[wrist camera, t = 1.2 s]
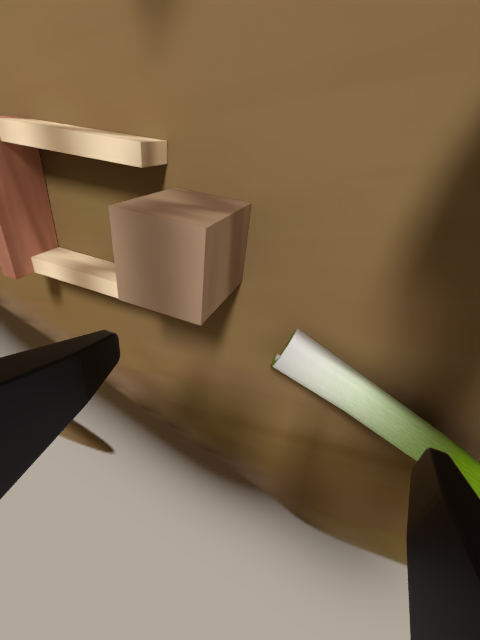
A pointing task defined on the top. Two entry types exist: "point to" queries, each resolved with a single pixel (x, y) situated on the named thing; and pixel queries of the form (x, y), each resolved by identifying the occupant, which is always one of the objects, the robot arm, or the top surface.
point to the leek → (368, 403)
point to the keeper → (179, 251)
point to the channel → (33, 203)
